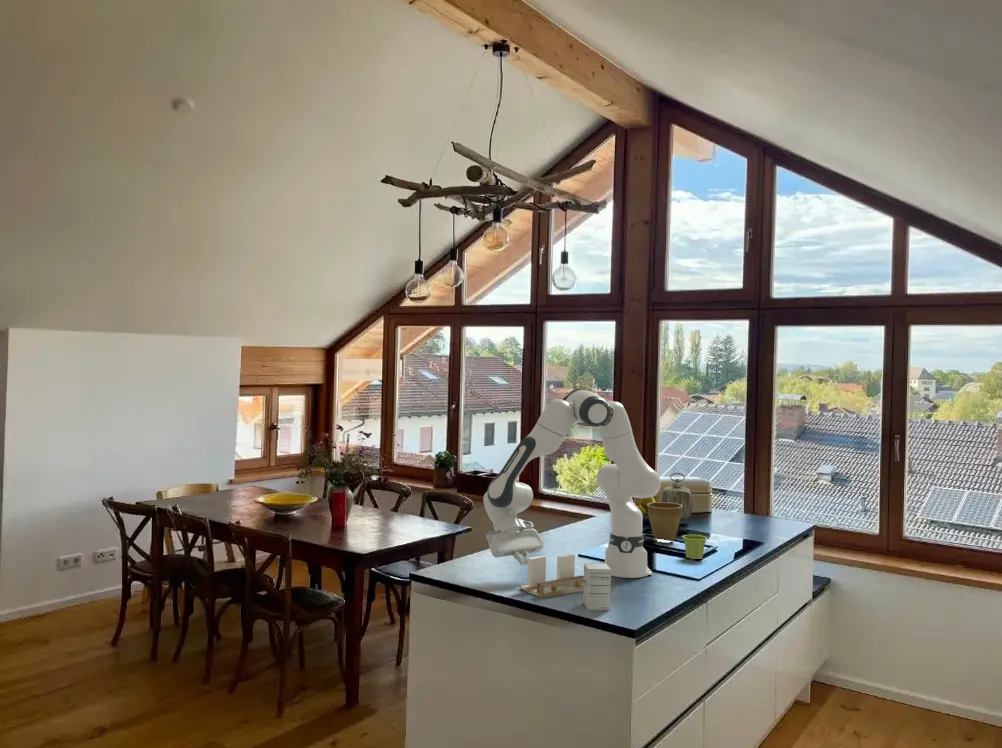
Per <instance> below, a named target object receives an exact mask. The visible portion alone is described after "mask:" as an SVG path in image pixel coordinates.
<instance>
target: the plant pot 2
mask: <svg viewBox="0 0 1002 748" xmlns="http://www.w3.org/2000/svg"><path fill="white" fill-rule="evenodd" d="M682 538H683V542H684V549H685V557H687V558H690V559H702V560H703V557H704V551H705V546H706V542H707V540H708V537H707V536H704V535H699V534H685V535H684V534H683V535H682ZM687 558H686V559H687ZM690 559H689V560H690Z"/></svg>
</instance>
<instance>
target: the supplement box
mask: <svg viewBox="0 0 1002 748" xmlns="http://www.w3.org/2000/svg"><path fill="white" fill-rule="evenodd" d="M583 576H584V584H583V591H582V603H583V604H584V606H585V609H586V610H587V611H610V610H611V586H612V585H611V584H612V575H611V569H610V568H609V566H608V565H607V564H605V562H604V563H602V562H600V563H599V562H598V563H597V562H596V563H594V562H593V563H591V562H590V563H589V562H587V563H586V562H585V563H583Z"/></svg>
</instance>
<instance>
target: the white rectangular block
mask: <svg viewBox="0 0 1002 748" xmlns="http://www.w3.org/2000/svg"><path fill="white" fill-rule="evenodd" d="M546 567H547V557H546V556H544V555H540V556H539V555H537V556H531V557H528V564H527V577H526V578H527V584H526V585H528V586H531V587H532V586H537V583H540V582H546V572H547V569H546Z"/></svg>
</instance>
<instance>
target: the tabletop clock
mask: <svg viewBox="0 0 1002 748" xmlns="http://www.w3.org/2000/svg"><path fill="white" fill-rule="evenodd" d="M674 475H680V476H682V477H683V479H680V478H676V479H673V478H672V476H674ZM669 479H670V480H671V481H673V483H672V486H666V487H664V488H663V490H662V494H661V502H665V503H676V504H680V505H682V512H681V518H680V519H684V520H685V523H686V522H689V523H690V521H689V520H688V518H690V517H691V515H692V512H693V496H692V492H691V489H690V488H688V487H684V486H683V485H682V483H681V482H684V481H685V479H686V476H685V475H684V474H683V473H681V472H674V473H672V474H671V475H670V477H669ZM679 479H680V480H679Z"/></svg>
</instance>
